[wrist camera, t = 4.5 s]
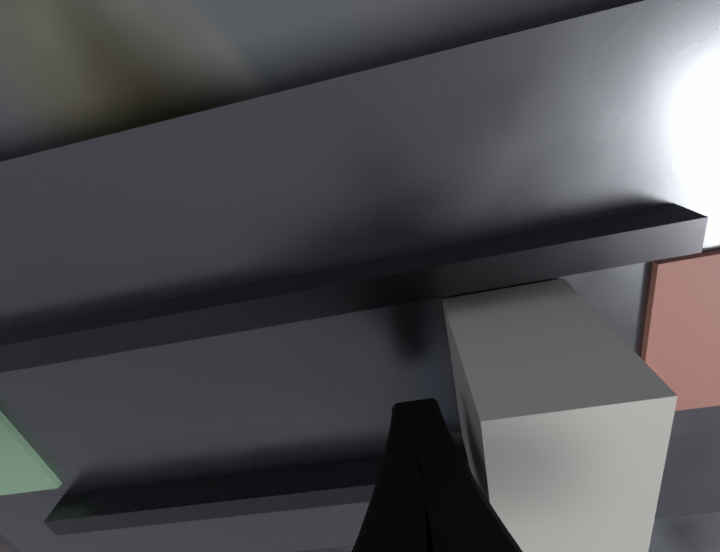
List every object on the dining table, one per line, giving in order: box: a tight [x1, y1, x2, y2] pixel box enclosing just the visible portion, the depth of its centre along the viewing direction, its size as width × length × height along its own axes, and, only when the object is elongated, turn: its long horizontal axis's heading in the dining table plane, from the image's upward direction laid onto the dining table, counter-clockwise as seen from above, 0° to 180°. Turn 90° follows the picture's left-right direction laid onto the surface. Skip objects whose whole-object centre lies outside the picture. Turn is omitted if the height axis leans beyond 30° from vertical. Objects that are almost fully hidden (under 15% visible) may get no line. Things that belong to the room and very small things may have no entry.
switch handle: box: [442, 278, 678, 552], centre depth 9 cm, size 5×3×4 cm, turn 12°
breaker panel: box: [0, 0, 720, 552], centre depth 12 cm, size 16×28×2 cm, turn 102°
